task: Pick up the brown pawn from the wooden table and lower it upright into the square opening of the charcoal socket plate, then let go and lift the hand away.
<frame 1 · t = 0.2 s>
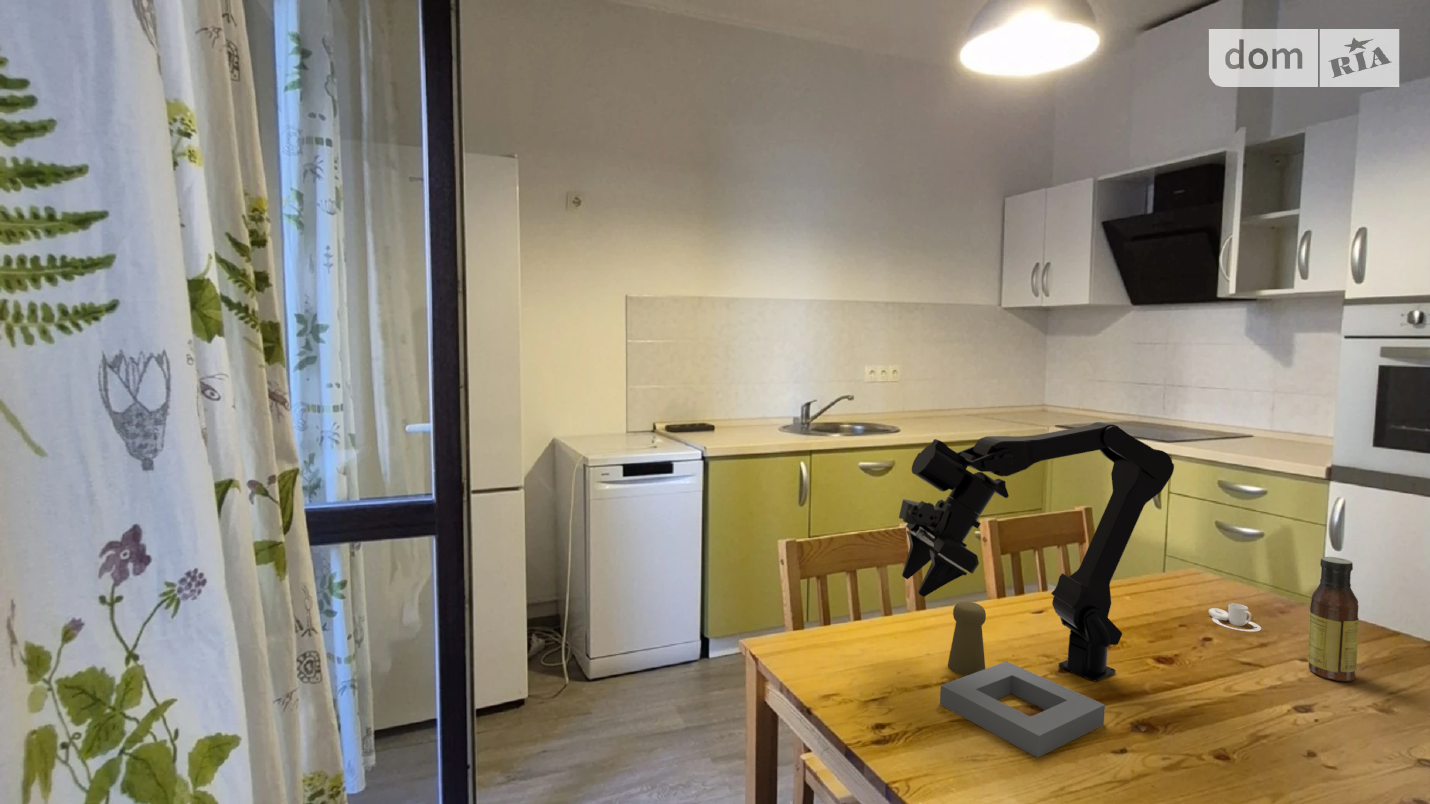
hand: (912, 586, 115), 15 cm above the table, tool tilted 30°, fingers open, 9 cm apart
teacup and saucer: (1237, 622, 143), on the table
sauce bottle: (1329, 675, 119), on the table
brown pawn: (966, 668, 119), on the table
socket plate: (1019, 714, 104), on the table
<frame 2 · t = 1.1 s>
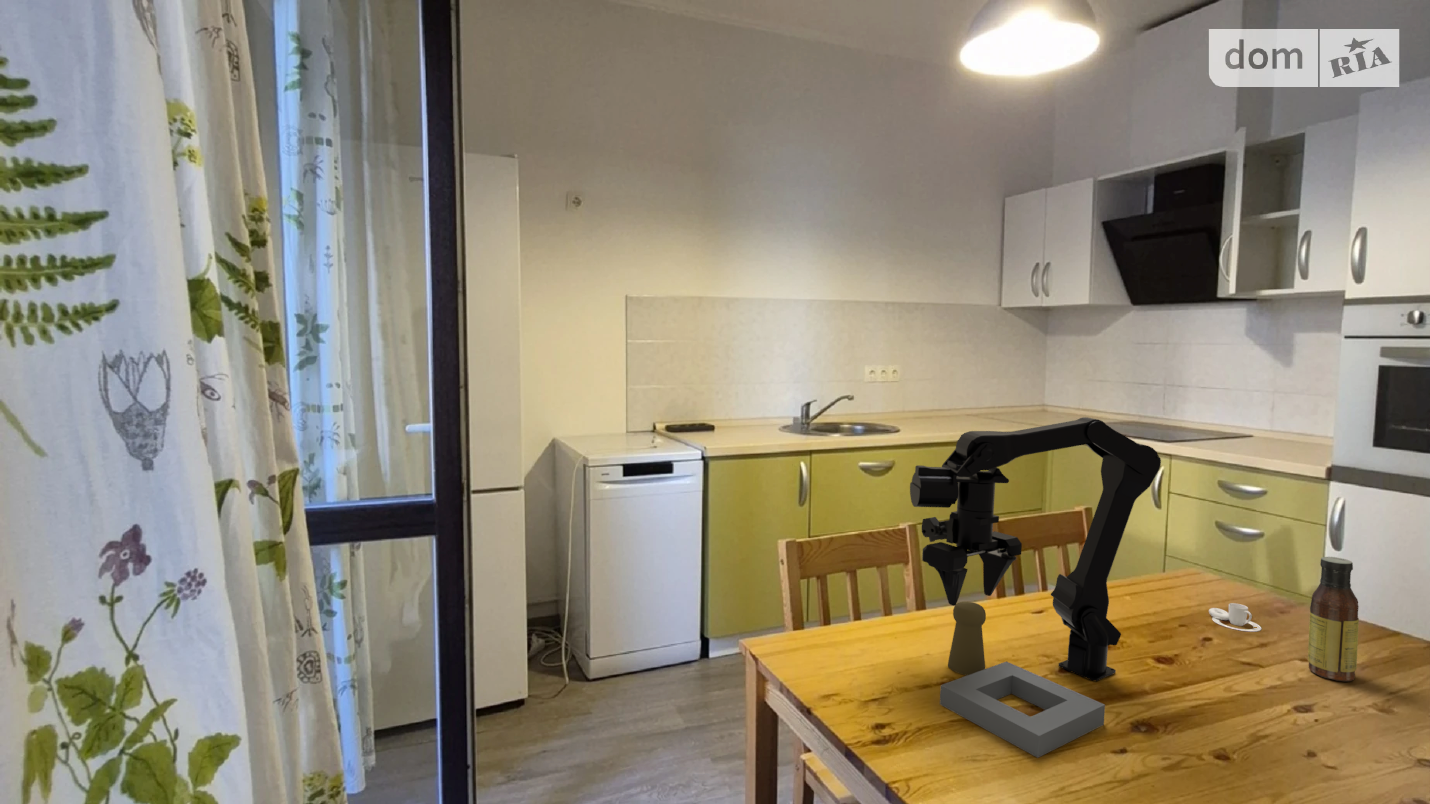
hand: (970, 599, 118), 12 cm above the table, tool pointing down, fingers open, 9 cm apart
nothing on the table moved.
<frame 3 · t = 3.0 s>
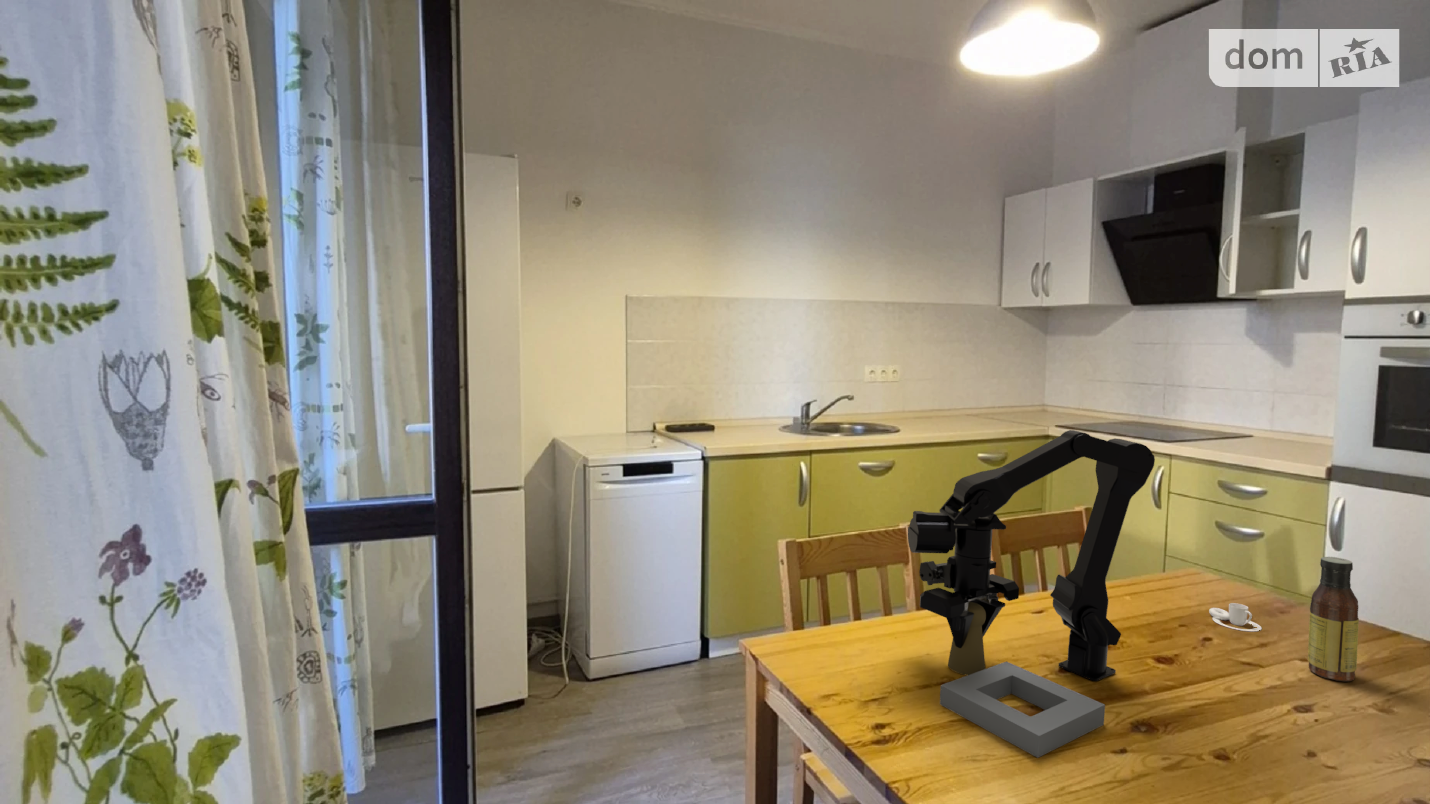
hand: (967, 644, 118), 4 cm above the table, tool pointing down, fingers closed on brown pawn, 4 cm apart
brown pawn: (966, 668, 119), on the table, touching gripper
everything else where it was.
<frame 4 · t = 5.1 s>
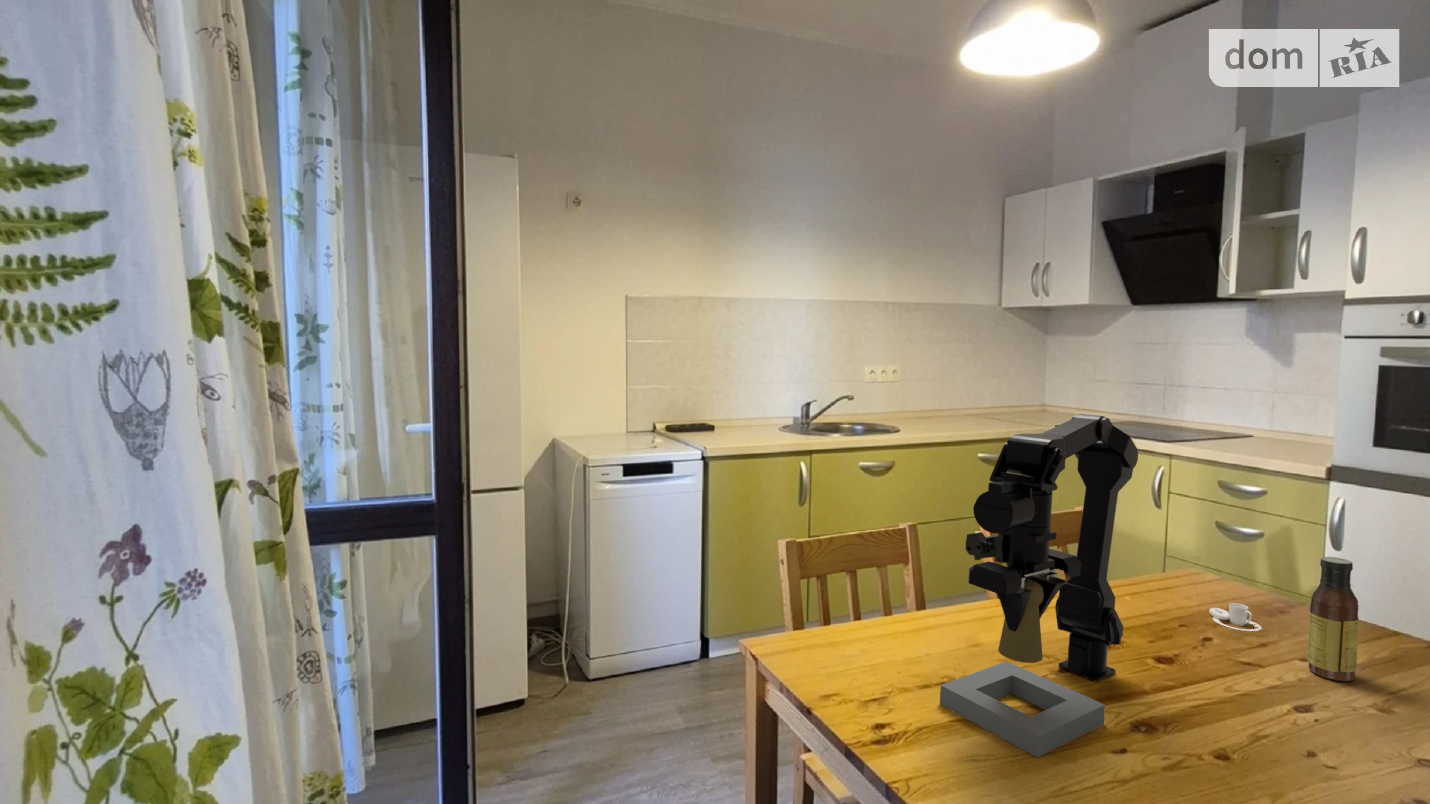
hand: (1022, 627, 103), 13 cm above the table, tool pointing down, fingers closed on brown pawn, 4 cm apart
brown pawn: (1020, 655, 104), point 9 cm above the table, touching gripper
everything else where it was.
when the fingers open (5 cm above the table, at t = 7.4 s): brown pawn stays where it is, resting in socket plate.
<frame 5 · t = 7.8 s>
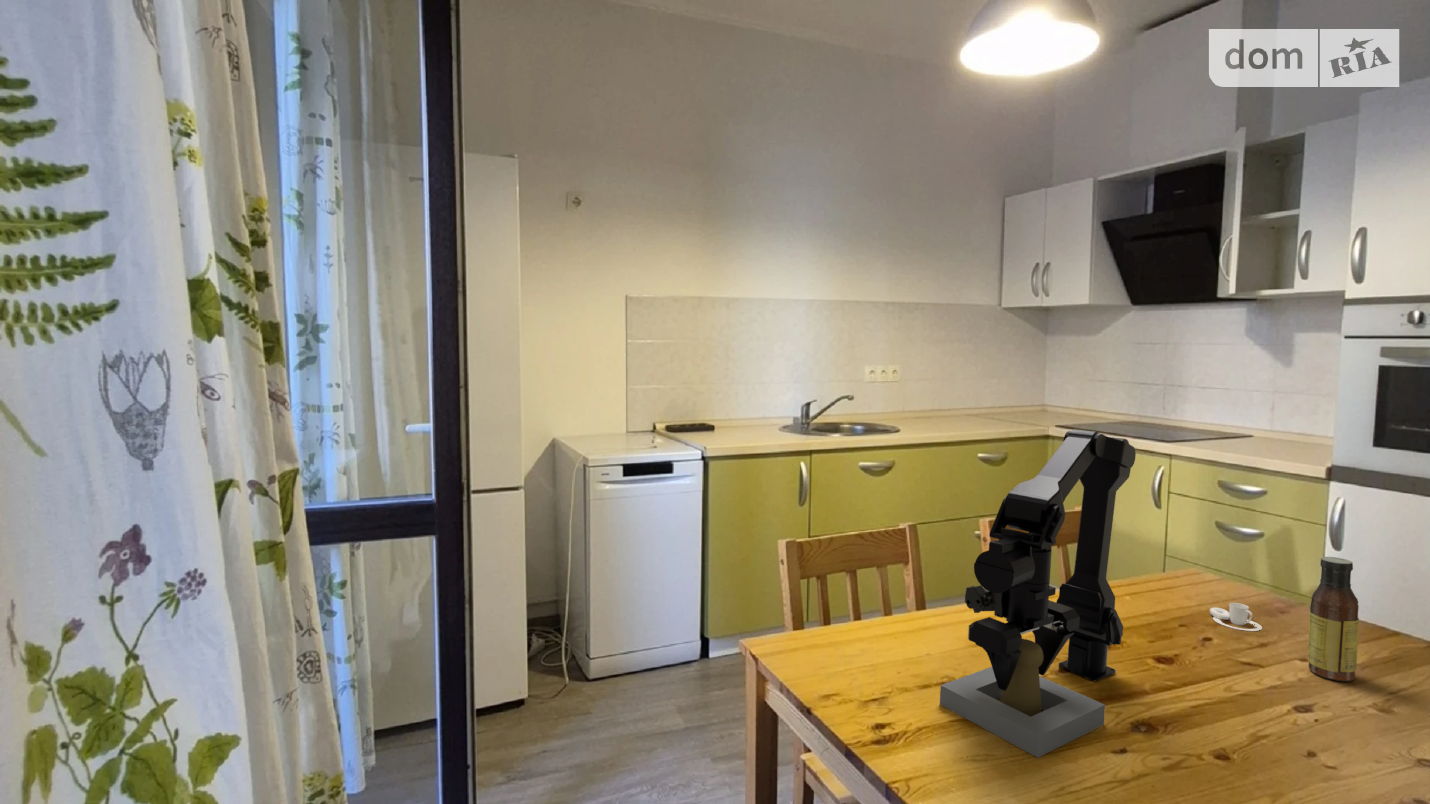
hand: (1021, 681, 103), 5 cm above the table, tool pointing down, fingers open, 9 cm apart
brown pawn: (1020, 715, 104), resting in socket plate
everything else where it was.
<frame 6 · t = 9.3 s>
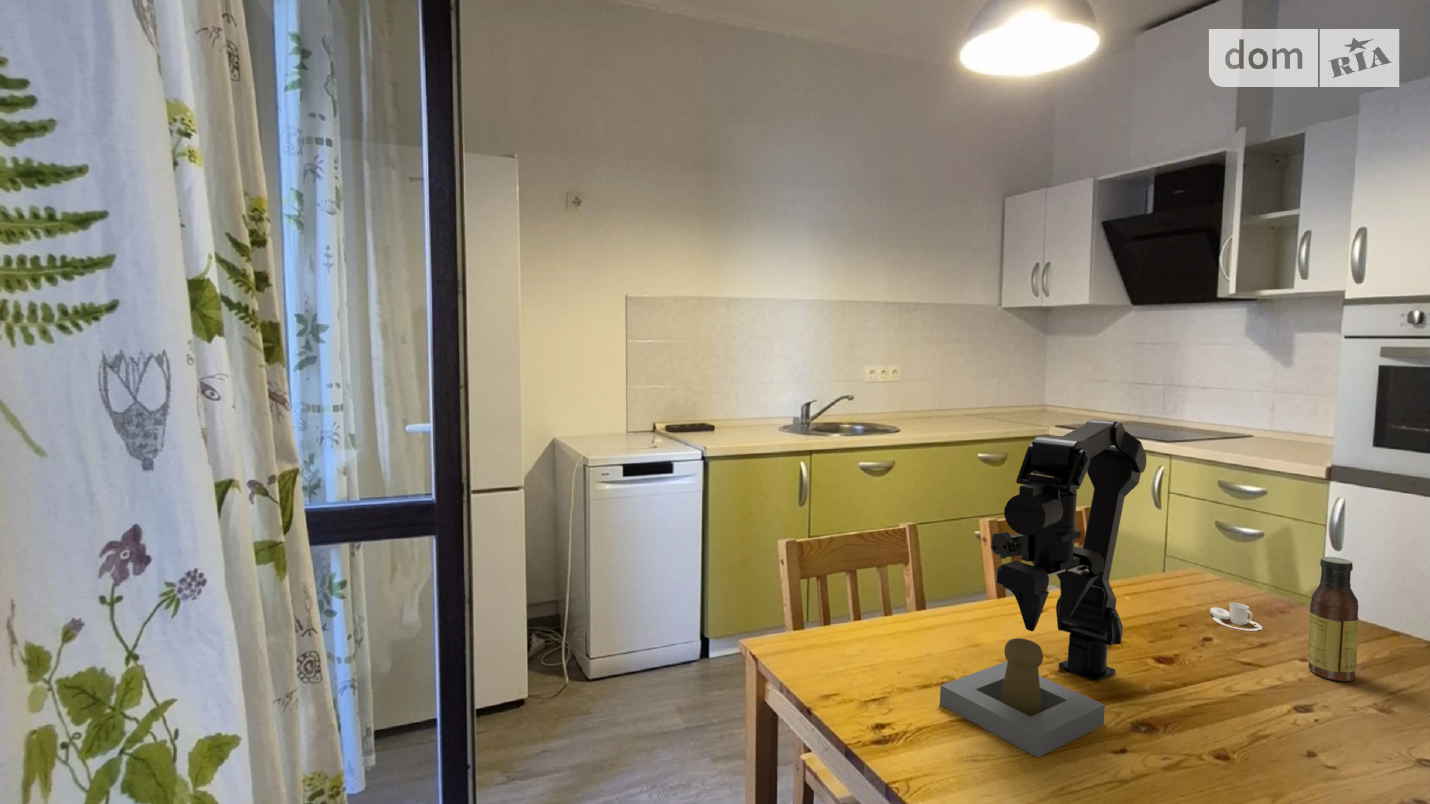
hand: (1048, 623, 106), 13 cm above the table, tool pointing down, fingers open, 9 cm apart
nothing on the table moved.
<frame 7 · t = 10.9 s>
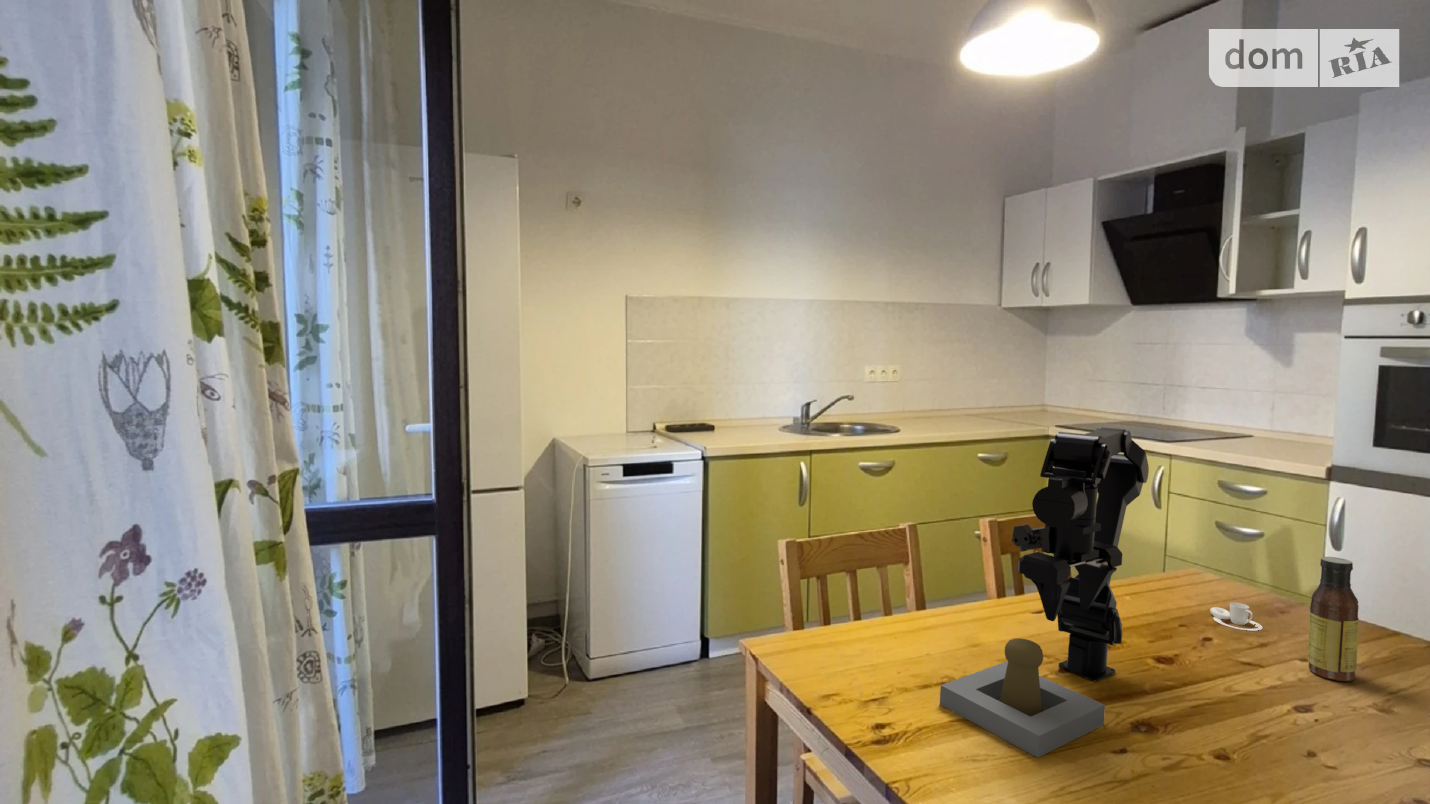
hand: (1067, 614, 109), 13 cm above the table, tool pointing down, fingers open, 9 cm apart
nothing on the table moved.
at the end: brown pawn 0.1 cm off-centre on the socket plate, point 0.0 cm above the socket plate's base; brown pawn tilted 0°; the gripper is holding nothing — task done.
